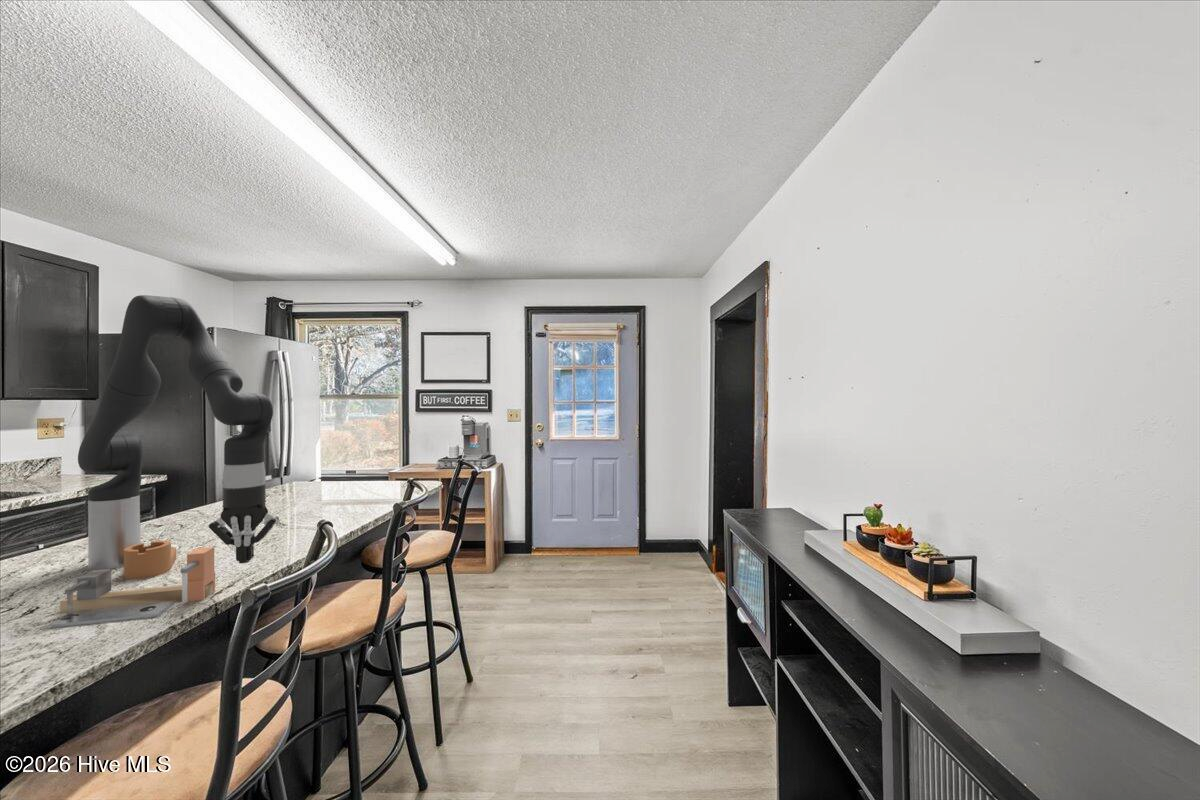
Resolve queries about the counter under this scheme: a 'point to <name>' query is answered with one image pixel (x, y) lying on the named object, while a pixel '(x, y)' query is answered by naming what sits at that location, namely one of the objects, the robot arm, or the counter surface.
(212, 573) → the block
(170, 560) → the bracket
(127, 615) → the strip
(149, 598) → the trammel bar
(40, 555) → the counter surface
